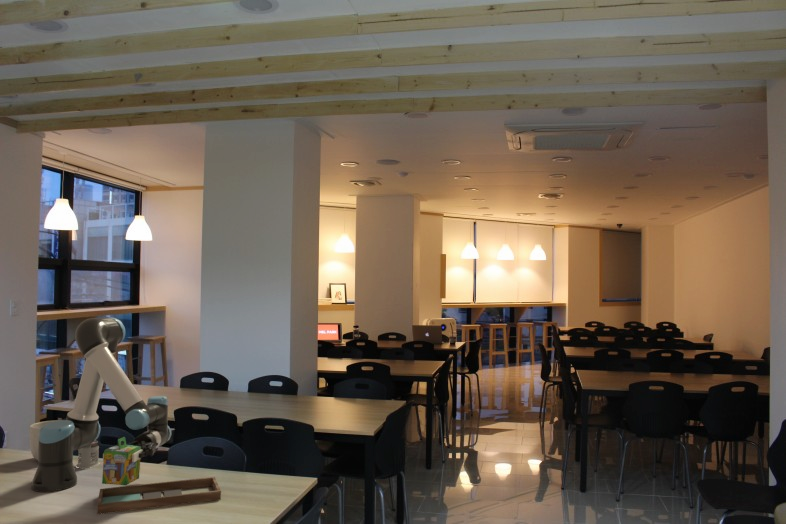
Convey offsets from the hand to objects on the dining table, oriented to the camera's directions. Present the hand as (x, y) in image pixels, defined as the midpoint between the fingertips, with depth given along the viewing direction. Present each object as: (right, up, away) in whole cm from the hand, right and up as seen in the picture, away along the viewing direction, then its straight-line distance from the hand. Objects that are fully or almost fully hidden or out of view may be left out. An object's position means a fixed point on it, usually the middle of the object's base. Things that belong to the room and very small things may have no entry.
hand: (118, 458), depth 208 cm
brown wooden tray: (+11, -17, +8) cm, 22 cm away
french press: (-35, -19, +49) cm, 63 cm away
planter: (-56, -19, +57) cm, 83 cm away
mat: (-1, -17, +3) cm, 17 cm away
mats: (+11, -17, +8) cm, 22 cm away
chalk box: (0, -9, +2) cm, 9 cm away
